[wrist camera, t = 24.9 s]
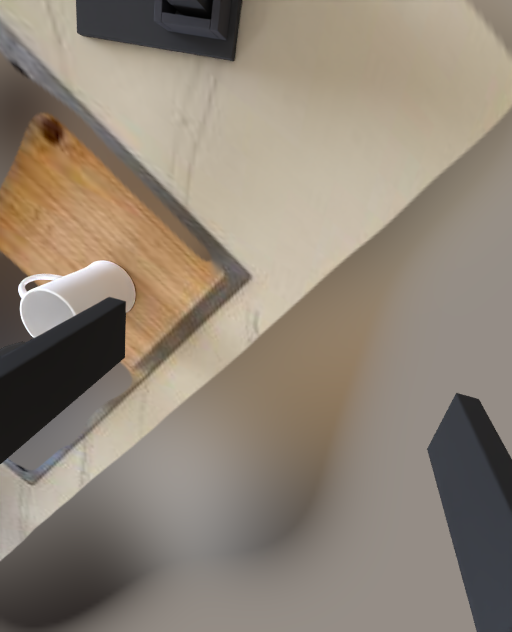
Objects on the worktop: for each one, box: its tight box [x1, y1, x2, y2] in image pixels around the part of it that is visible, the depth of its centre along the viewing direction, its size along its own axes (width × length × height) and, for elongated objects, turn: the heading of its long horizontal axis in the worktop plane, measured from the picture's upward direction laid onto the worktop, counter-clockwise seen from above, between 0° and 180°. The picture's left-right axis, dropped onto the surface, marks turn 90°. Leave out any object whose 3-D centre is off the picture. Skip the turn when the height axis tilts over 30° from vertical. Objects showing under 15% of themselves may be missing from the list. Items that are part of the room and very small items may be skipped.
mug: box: [18, 261, 136, 338], centre depth 47 cm, size 12×8×12 cm
